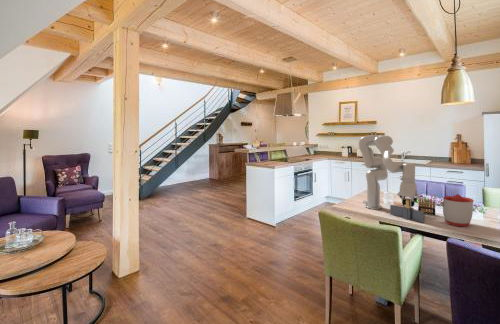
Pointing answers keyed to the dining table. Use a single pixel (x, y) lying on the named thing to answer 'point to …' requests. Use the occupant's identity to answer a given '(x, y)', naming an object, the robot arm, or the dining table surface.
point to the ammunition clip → (426, 206)
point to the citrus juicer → (457, 210)
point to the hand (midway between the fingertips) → (408, 205)
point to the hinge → (407, 213)
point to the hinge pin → (408, 203)
